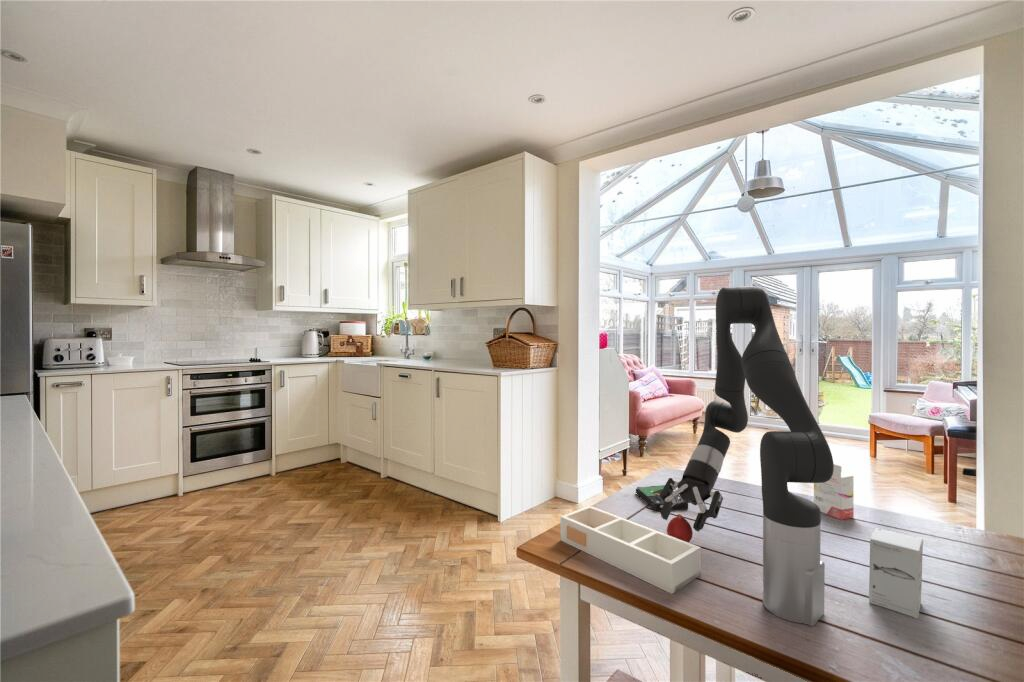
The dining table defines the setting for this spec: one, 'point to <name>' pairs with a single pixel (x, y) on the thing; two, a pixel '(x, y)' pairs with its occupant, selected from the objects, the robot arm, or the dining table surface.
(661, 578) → the compartment tray
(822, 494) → the ink cartridge box
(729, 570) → the dining table surface
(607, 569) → the dining table surface
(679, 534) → the onion
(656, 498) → the disk drive
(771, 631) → the dining table surface
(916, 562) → the supplement box
